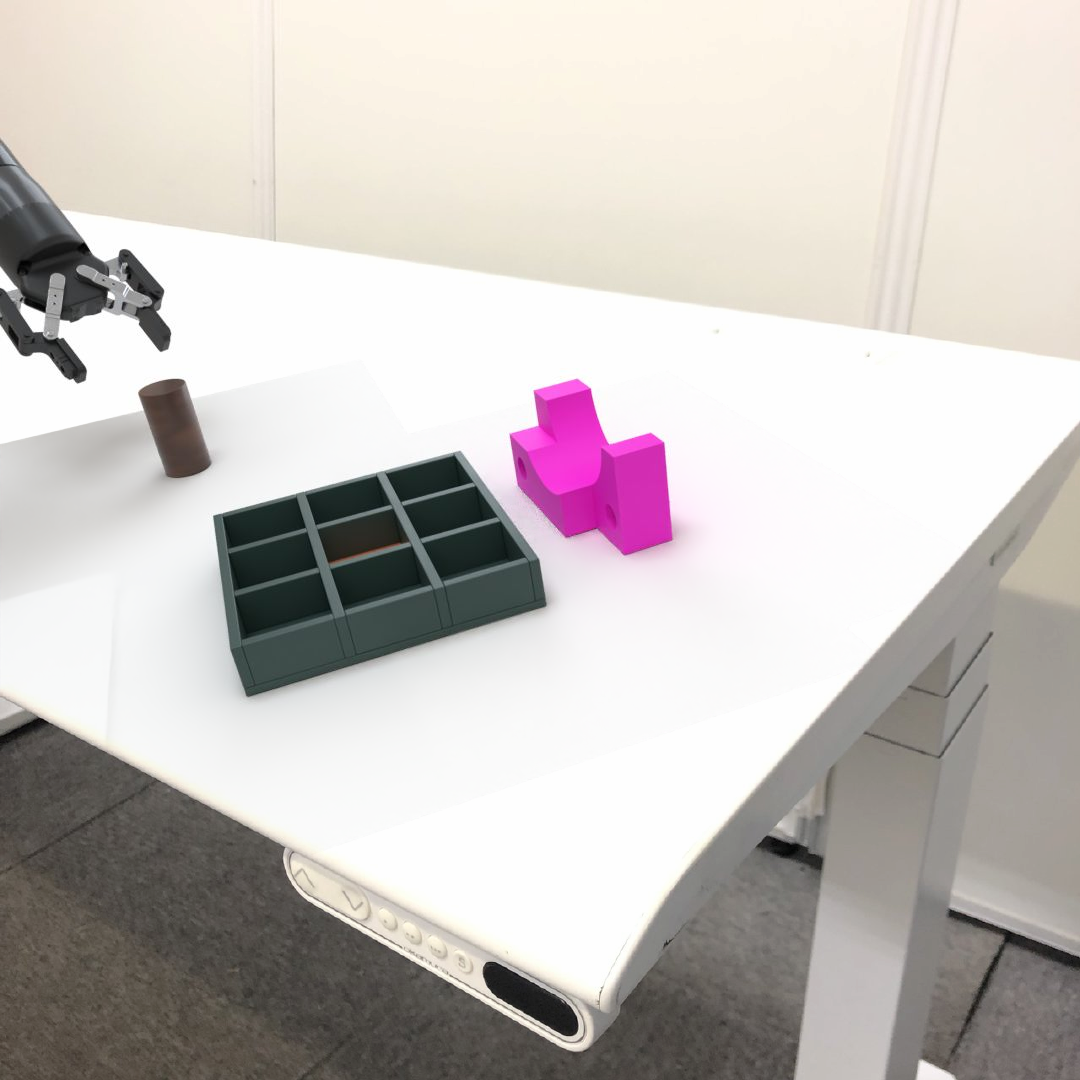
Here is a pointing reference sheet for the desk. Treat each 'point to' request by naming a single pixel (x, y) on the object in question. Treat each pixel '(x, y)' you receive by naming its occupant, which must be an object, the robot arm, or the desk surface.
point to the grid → (368, 570)
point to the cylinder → (175, 427)
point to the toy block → (592, 472)
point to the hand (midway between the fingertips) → (126, 361)
